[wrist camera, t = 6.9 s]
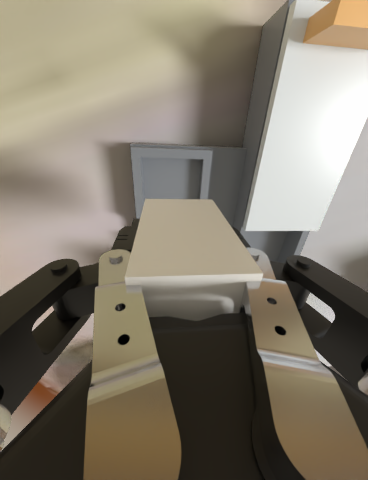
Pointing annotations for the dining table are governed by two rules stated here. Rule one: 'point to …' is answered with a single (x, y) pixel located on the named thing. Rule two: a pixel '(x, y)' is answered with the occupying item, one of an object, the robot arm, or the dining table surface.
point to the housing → (222, 160)
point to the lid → (311, 115)
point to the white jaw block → (189, 260)
